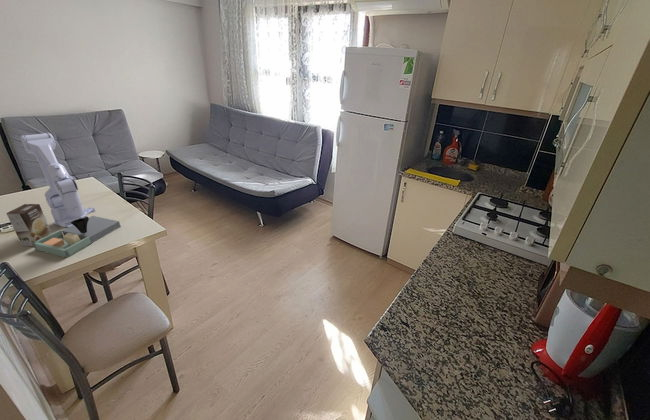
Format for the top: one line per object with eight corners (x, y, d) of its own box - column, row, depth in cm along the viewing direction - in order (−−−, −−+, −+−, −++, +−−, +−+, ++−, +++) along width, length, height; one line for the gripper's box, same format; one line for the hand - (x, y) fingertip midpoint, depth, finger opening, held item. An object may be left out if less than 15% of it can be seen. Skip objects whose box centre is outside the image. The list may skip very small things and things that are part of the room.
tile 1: (53, 237, 128) (55, 242, 129) (41, 243, 124) (43, 248, 125) (62, 239, 127) (64, 244, 128) (50, 245, 123) (53, 250, 124)
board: (64, 236, 134) (61, 230, 133) (94, 220, 147) (92, 215, 146) (92, 242, 131) (90, 237, 130) (120, 226, 144) (119, 221, 143)
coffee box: (37, 246, 127) (22, 213, 119) (21, 246, 126) (5, 213, 119) (53, 234, 135) (39, 203, 127) (38, 234, 134) (23, 203, 127)
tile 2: (73, 241, 130) (68, 245, 128) (68, 232, 127) (62, 236, 125) (82, 243, 129) (77, 247, 127) (77, 234, 126) (72, 238, 124)
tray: (35, 249, 125) (32, 243, 123) (62, 236, 134) (59, 230, 132) (67, 257, 121) (64, 250, 120) (91, 243, 131) (89, 237, 129)
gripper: (63, 214, 118) (75, 242, 124) (96, 200, 131) (105, 226, 137) (50, 211, 119) (61, 239, 126) (84, 197, 132) (93, 223, 138)
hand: (83, 232), depth 131 cm, fingers closed
